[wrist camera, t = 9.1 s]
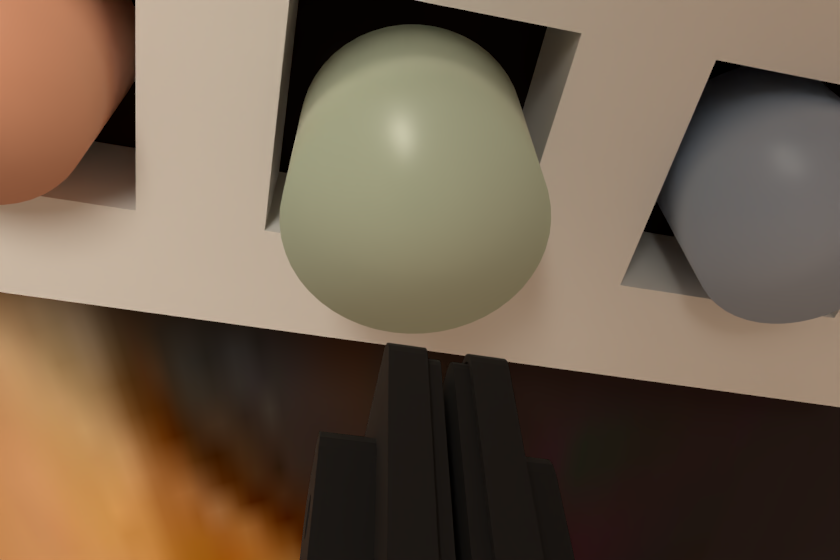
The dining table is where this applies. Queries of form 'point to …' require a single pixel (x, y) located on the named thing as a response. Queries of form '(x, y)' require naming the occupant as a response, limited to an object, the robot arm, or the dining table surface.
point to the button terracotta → (58, 86)
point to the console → (556, 151)
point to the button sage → (413, 184)
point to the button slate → (761, 195)
